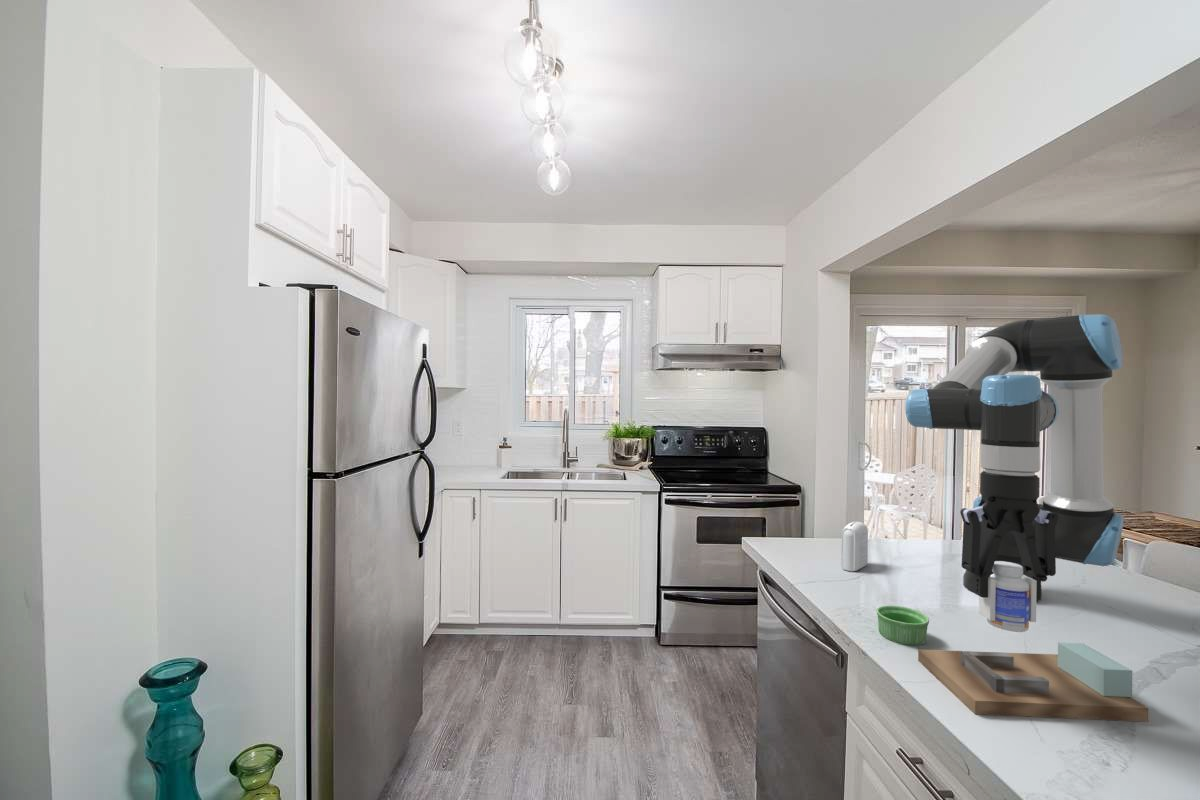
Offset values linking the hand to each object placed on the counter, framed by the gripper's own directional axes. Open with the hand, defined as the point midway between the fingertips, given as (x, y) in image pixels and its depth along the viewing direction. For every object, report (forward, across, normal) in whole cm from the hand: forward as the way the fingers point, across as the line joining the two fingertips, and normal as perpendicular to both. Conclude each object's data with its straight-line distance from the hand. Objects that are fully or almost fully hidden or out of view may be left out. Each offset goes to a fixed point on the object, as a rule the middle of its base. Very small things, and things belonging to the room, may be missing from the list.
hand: (1007, 617), depth 85 cm
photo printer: (+12, -1, -62) cm, 63 cm away
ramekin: (+12, +7, -19) cm, 24 cm away
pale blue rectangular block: (+10, -13, 0) cm, 16 cm away
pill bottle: (+2, 0, 0) cm, 2 cm away
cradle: (+12, -3, -1) cm, 12 cm away
